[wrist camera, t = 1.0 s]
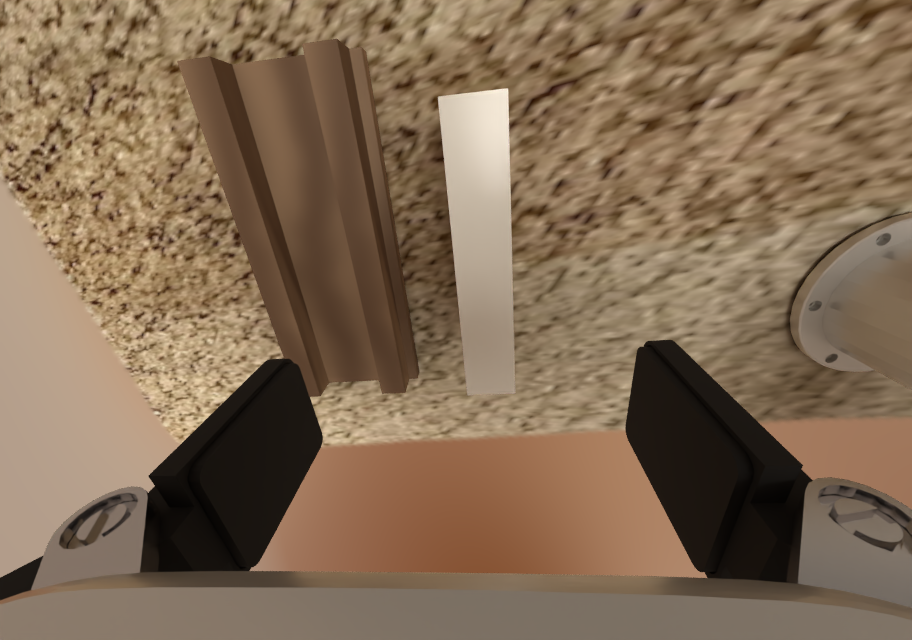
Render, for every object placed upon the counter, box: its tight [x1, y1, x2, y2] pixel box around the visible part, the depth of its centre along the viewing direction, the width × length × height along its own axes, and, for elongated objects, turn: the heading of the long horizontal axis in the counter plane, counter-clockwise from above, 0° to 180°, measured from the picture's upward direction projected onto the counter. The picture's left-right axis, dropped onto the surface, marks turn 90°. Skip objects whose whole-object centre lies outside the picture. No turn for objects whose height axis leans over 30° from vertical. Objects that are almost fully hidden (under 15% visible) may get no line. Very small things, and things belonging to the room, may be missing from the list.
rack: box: [177, 39, 419, 397], centre depth 26 cm, size 11×24×3 cm, turn 5°
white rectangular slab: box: [438, 88, 515, 395], centre depth 22 cm, size 3×16×9 cm, turn 5°
